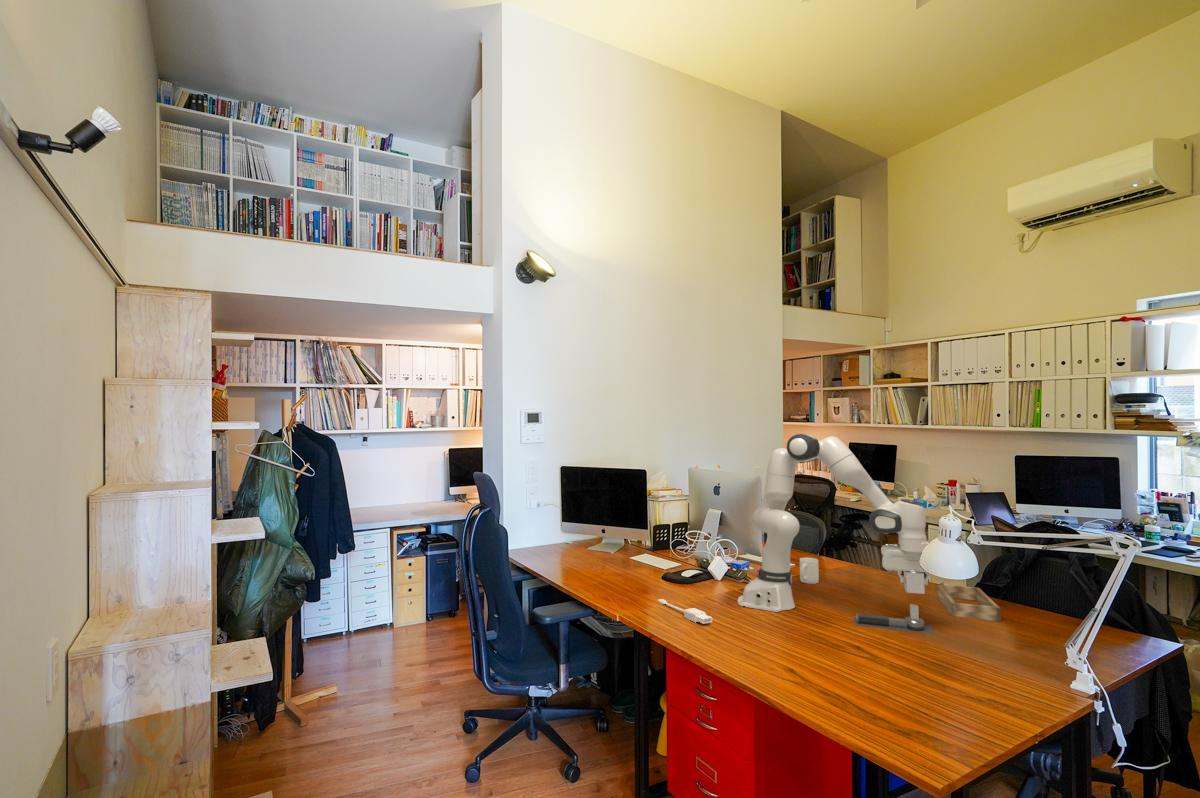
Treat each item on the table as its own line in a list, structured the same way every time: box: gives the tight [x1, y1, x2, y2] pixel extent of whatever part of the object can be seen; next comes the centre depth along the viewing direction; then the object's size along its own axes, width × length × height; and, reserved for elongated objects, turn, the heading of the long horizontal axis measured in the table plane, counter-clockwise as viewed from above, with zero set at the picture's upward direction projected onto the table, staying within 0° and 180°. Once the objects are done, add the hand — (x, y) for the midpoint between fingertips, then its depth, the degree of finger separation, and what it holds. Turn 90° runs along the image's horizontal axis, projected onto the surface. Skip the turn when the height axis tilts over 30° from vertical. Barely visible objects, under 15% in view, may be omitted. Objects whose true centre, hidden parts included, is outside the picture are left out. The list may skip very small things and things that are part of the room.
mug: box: [799, 557, 820, 585], centre depth 265 cm, size 12×8×10 cm
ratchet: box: [855, 603, 925, 631], centre depth 207 cm, size 22×6×8 cm, turn 70°
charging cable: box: [657, 598, 713, 624], centre depth 222 cm, size 5×32×3 cm, turn 28°
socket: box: [903, 571, 926, 595], centre depth 205 cm, size 6×6×8 cm
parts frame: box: [936, 583, 1002, 623], centre depth 228 cm, size 15×28×5 cm, turn 160°
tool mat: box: [852, 617, 937, 635], centre depth 207 cm, size 26×9×1 cm, turn 70°
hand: (914, 583), depth 205 cm, fingers closed on socket, 6 cm apart
